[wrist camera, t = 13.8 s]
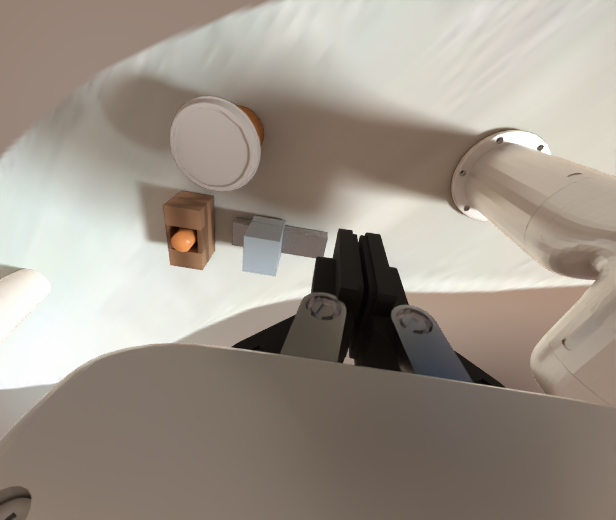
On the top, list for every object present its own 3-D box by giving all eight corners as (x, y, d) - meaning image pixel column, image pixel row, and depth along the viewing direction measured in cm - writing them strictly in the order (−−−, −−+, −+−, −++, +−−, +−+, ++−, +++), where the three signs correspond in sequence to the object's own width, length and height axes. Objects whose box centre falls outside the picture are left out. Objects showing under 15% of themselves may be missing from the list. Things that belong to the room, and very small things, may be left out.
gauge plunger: (199, 225, 43) (189, 236, 40) (199, 241, 45) (191, 253, 42) (180, 222, 43) (169, 233, 40) (181, 238, 45) (171, 250, 42)
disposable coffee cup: (285, 154, 41) (272, 179, 31) (226, 175, 43) (195, 205, 33) (258, 79, 36) (232, 80, 26) (193, 106, 38) (145, 117, 28)
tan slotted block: (213, 196, 45) (199, 211, 40) (214, 250, 50) (202, 270, 45) (181, 190, 44) (163, 205, 39) (186, 246, 50) (170, 265, 45)
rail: (327, 232, 47) (327, 238, 45) (322, 253, 49) (322, 259, 48) (235, 217, 46) (232, 222, 45) (235, 238, 49) (232, 244, 47)
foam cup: (18, 297, 58) (-53, 347, 47) (-2, 258, 53) (-87, 305, 42) (66, 303, 59) (6, 355, 48) (50, 266, 54) (-21, 314, 43)
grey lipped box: (285, 220, 46) (279, 241, 40) (281, 253, 49) (275, 276, 43) (254, 215, 46) (243, 235, 40) (252, 248, 49) (242, 271, 43)
